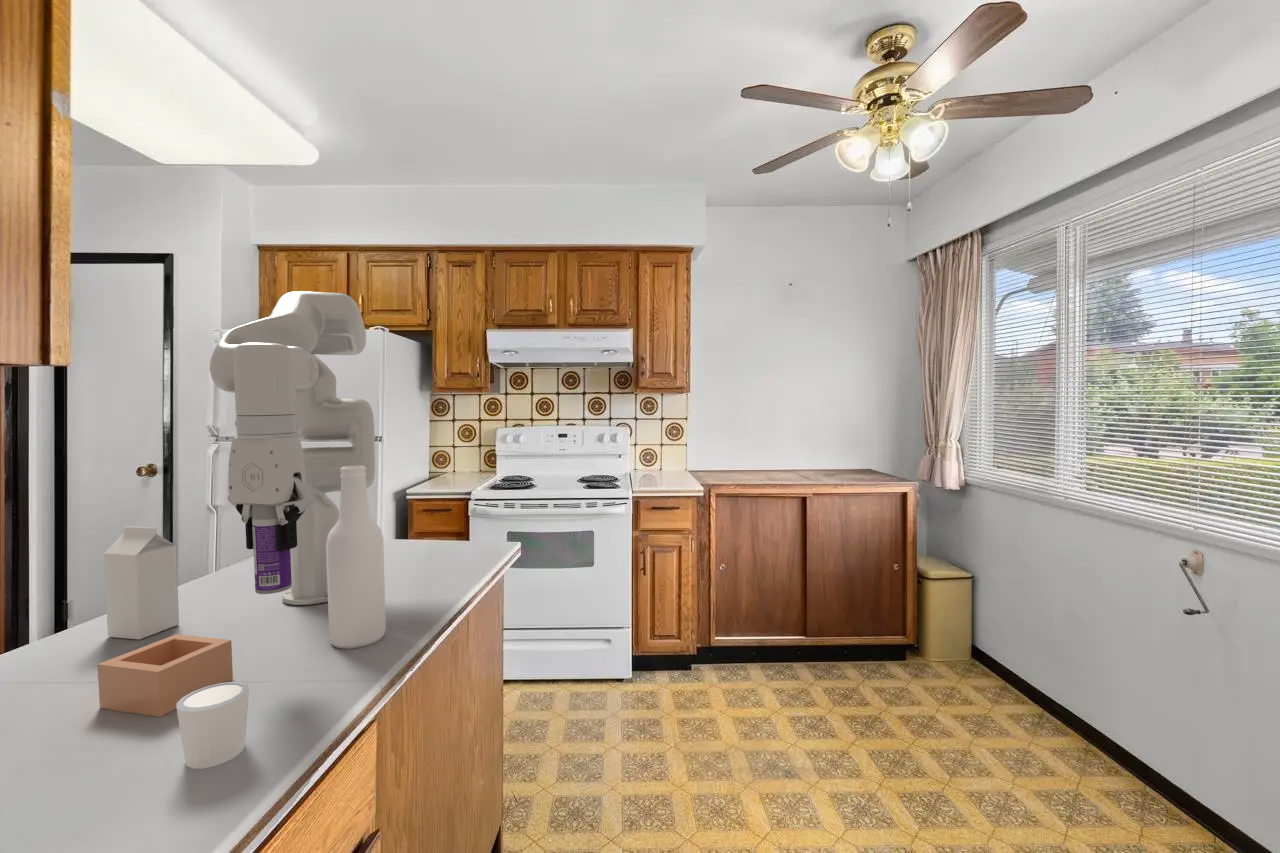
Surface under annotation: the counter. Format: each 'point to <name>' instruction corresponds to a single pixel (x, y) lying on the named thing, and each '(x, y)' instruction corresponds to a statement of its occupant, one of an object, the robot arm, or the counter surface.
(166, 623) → the milk carton
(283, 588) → the container
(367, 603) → the alcohol
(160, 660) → the tan open box
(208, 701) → the white cup
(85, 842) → the counter surface
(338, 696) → the counter surface
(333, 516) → the robot arm
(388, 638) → the counter surface
